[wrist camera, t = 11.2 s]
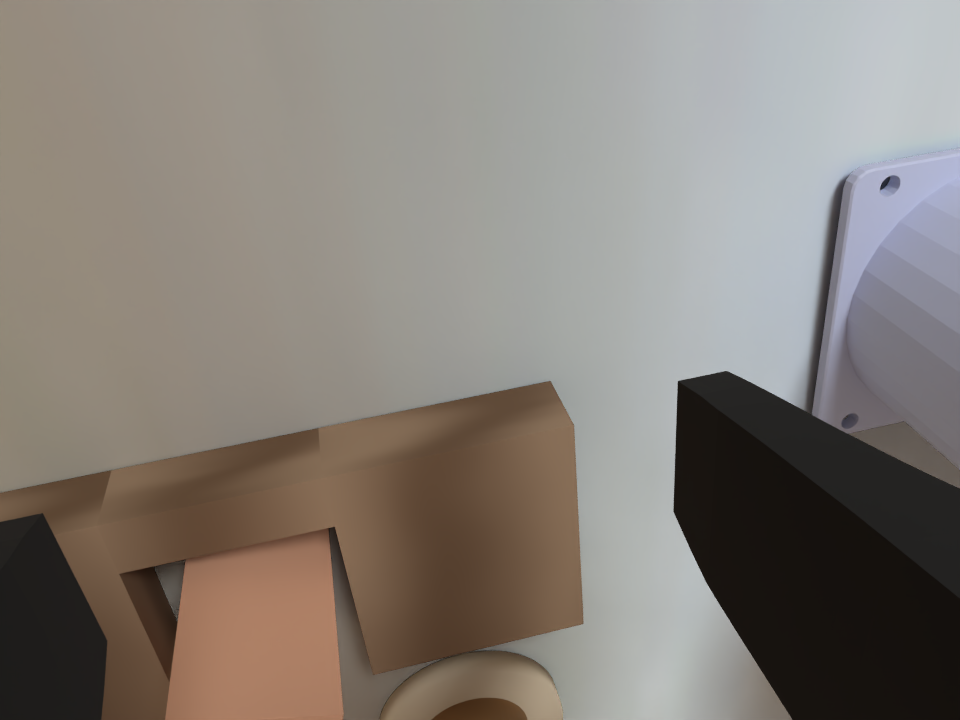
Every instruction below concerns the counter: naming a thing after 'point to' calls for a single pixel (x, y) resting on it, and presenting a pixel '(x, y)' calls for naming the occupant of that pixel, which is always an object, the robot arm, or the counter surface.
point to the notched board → (342, 530)
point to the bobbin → (477, 690)
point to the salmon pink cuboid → (258, 634)
